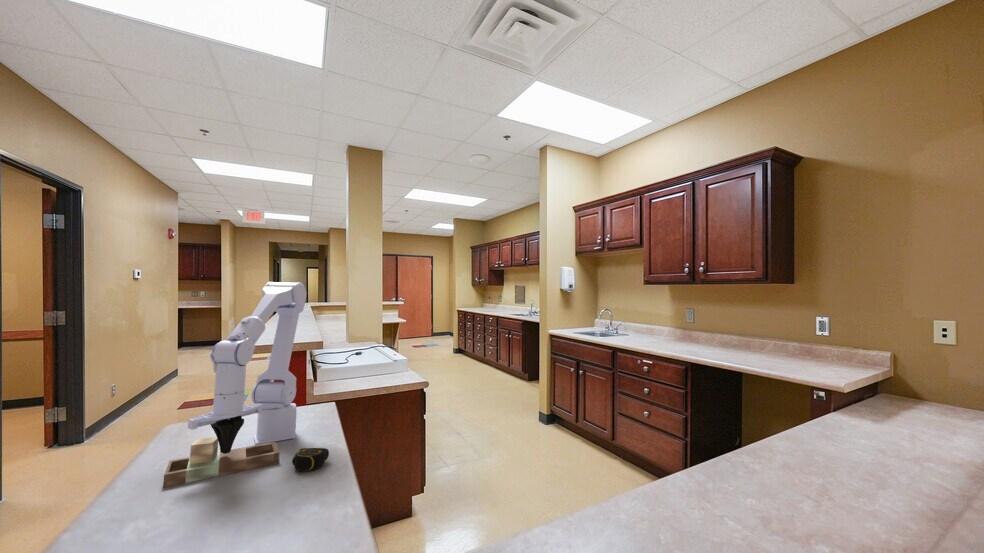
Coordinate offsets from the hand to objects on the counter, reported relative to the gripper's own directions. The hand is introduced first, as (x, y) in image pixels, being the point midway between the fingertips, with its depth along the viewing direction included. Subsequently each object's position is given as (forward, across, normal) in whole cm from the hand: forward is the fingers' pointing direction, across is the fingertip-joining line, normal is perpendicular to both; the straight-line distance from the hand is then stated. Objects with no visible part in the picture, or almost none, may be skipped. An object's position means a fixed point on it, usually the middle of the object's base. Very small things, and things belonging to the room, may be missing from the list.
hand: (225, 452), depth 83 cm
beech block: (+1, +3, -3) cm, 4 cm away
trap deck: (+3, 0, 0) cm, 4 cm away
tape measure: (+4, -11, +15) cm, 19 cm away
